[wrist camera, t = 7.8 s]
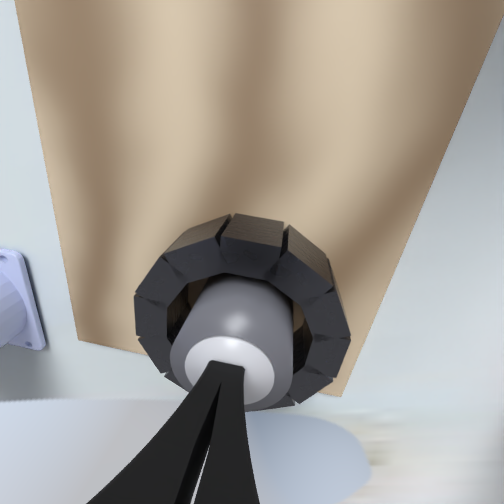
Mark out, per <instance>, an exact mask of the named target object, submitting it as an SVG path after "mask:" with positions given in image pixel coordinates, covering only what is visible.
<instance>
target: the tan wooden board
mask: <svg viewBox="0 0 504 504" xmlns="http://www.w3.org/2000/svg"><path fill="white" fill-rule="evenodd" d="M15 6H16V11H17V16H18V22H19V27H20V32H21V38H22V43H23V48H24V54H25V59H26V64H27V70H28V75H29V80H30V86H31V91H32V96H33V102H34V107H35V112H36V118H37V123H38V128H39V134H40V139H41V144H42V150H43V155H44V160H45V166H46V171H47V176H48V182H49V187H50V192H51V198H52V203H53V208H54V214H55V219H56V224H57V230H58V235H59V240H60V246H61V251H62V256H63V262H64V267H65V272H66V278H67V283H68V288H69V294H70V299H71V304H72V310H73V315H74V320H75V326H76V331H77V336H78V340H80V341H85V342H89V343H94V344H99V345H103V346H108V347H113V348H117V349H122V350H126V351H131V352H136V353H140V354H145V355H148V354H147V353H146V351H145V350H144V348H143V347H142V345H141V344H140V343H139V341H138V338H139V337H140V336H136V329H135V313H134V297H133V296H134V295H135V294H136V293H135V291H136V289H137V288H138V286H139V285H140V284H141V282H142V281H143V279H144V278H145V276H146V275H147V274H148V272H149V271H150V269H151V268H152V267H153V265H154V264H155V262H156V261H157V259H158V258H159V257H160V256H161V255H162V254H163V253H164V252H165V251H166V250H167V249H168V248H169V247H170V246H171V245H172V244H173V243H174V241H175V240H176V239H177V238H178V237H179V236H180V235H181V234H182V233H183V232H184V231H186V230H187V229H188V228H191V227H194V226H197V225H199V224H202V223H205V222H208V221H211V220H213V219H216V218H219V217H222V216H224V215H227V214H231V216H232V218H233V216H234V215H235V213H238V214H244V215H249V216H255V217H261V218H266V219H272V220H277V221H283V222H284V228H283V230H284V229H285V228H286V227H287V226H288V225H289V224H290V225H291V226H292V227H293V228H295V229H296V230H297V231H298V232H300V233H301V234H302V235H303V236H305V237H306V238H307V239H308V240H309V241H311V242H312V243H313V244H314V245H316V246H317V247H318V248H319V249H320V250H322V251H323V252H324V253H325V254H326V257H327V258H329V261H330V264H331V267H332V270H333V273H334V276H335V279H336V282H337V285H338V288H339V292H340V295H341V298H342V302H343V306H344V310H345V313H346V317H347V321H348V325H349V329H350V333H351V336H350V338H351V342H350V345H349V347H348V350H347V352H346V355H345V357H344V360H343V363H342V365H341V368H340V370H339V373H338V375H337V378H333V382H332V383H330V384H329V385H327V386H326V387H324V388H323V389H321V390H320V391H318V392H320V393H324V394H329V395H334V396H338V397H341V396H342V394H343V391H344V389H345V386H346V384H347V382H348V379H349V377H350V375H351V372H352V370H353V368H354V365H355V363H356V361H357V358H358V356H359V354H360V351H361V349H362V347H363V344H364V342H365V339H366V337H367V335H368V332H369V330H370V328H371V325H372V323H373V321H374V318H375V316H376V314H377V311H378V309H379V307H380V304H381V302H382V300H383V297H384V295H385V292H386V290H387V288H388V285H389V283H390V281H391V278H392V276H393V274H394V271H395V269H396V267H397V264H398V262H399V260H400V257H401V255H402V253H403V250H404V248H405V246H406V243H407V241H408V238H409V236H410V234H411V231H412V229H413V227H414V224H415V222H416V220H417V217H418V215H419V213H420V210H421V208H422V206H423V203H424V201H425V199H426V196H427V194H428V191H429V189H430V187H431V184H432V182H433V180H434V177H435V175H436V173H437V170H438V168H439V166H440V163H441V161H442V159H443V156H444V154H445V152H446V149H447V147H448V144H449V142H450V140H451V137H452V135H453V133H454V130H455V128H456V126H457V123H458V121H459V119H460V116H461V114H462V112H463V109H464V107H465V105H466V102H467V100H468V98H469V95H470V93H471V90H472V88H473V86H474V83H475V81H476V79H477V76H478V74H479V72H480V69H481V67H482V65H483V62H484V60H485V58H486V55H487V53H488V51H489V48H490V46H491V43H492V41H493V39H494V36H495V34H496V32H497V29H498V27H499V25H500V22H501V20H502V18H503V15H504V0H15ZM208 279H209V277H207V278H203V279H200V280H197V281H193V282H190V283H189V286H188V303H189V305H190V307H191V308H193V306H194V304H195V302H196V301H197V299H198V297H199V295H200V293H201V291H202V290H203V288H204V286H205V284H206V282H207V280H208ZM304 319H305V316H304V313H303V311H302V308H301V306H300V305H299V304H298V303H296V302H295V301H294V300H293V333H294V332H295V331H296V330H297V329H299V328H300V327H301V326H302V325H303V322H304Z"/></svg>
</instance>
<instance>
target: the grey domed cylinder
mask: <svg viewBox="0 0 504 504" xmlns="http://www.w3.org/2000/svg"><path fill="white" fill-rule="evenodd" d="M211 360H215V361H219V362H224V363H229V364H233V365H238V366H243V367H244V368H245V374H244V410H245V412H249V411H257V410H261V409H264V408H267V407H269V406H272V405H274V404H275V403H277V402H278V401H280V400H281V399H282V398H283V397H284V396H285V395H286V393H287V392H288V390H289V388H290V386H291V383H292V377H293V300H292V299H291V298H290V297H288V296H287V295H286V294H284V293H283V292H282V291H280V290H279V289H278V288H276V287H275V286H274V285H272V284H271V283H270V282H269V281H267V280H262V279H256V278H251V277H246V276H241V275H236V274H231V273H225V272H224V273H220V274H217V275H213V276H210V277H209V279H208V280H207V282H206V284H205V286H204V288H203V290H202V291H201V293H200V295H199V297H198V299H197V301H196V302H195V304H194V306H193V308H192V310H191V312H190V313H189V315H188V317H187V319H186V321H185V323H184V324H183V326H182V328H181V330H180V332H179V334H178V335H177V337H176V339H175V341H174V343H173V345H172V348H171V352H170V363H171V368H172V371H173V373H174V375H175V377H176V379H177V380H178V382H179V383H180V384H181V385H182V387H183V388H184V389H185V390H186V391H188V392H190V391H191V390H192V388H193V387H194V385H195V384H196V382H197V381H198V379H199V378H200V376H201V375H202V373H203V371H204V370H205V368H206V366H207V364H208V362H209V361H211Z"/></svg>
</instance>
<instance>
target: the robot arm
mask: <svg viewBox="0 0 504 504" xmlns="http://www.w3.org/2000/svg"><path fill="white" fill-rule="evenodd" d="M5 344H11V345H15V346H20V347H24V348H29V349H33V350H42V349H43V348H44V347H45V346H46V343H45V339H44V335H43V331H42V327H41V323H40V319H39V316H38V312H37V308H36V304H35V300H34V296H33V292H32V288H31V285H30V281H29V277H28V273H27V269H26V265H25V261H24V258H23V256H22V255H21V254H20V253H18V252H16V251H12V250H7V249H2V248H0V348H1V347H2V346H4V345H5ZM244 374H245V368H244V367H243V366H238V365H233V364H229V363H224V362H219V361H215V360H211V361H209V362H208V364H207V366H206V368H205V370H204V371H203V373H202V375H201V376H200V378H199V379H198V381H197V382H196V384H195V385H194V387H193V388H192V390H191V391H190V392H189V394H188V395H187V396H186V398H185V399H184V400H183V402H182V403H181V405H180V406H179V407H178V408H177V410H176V411H175V412H174V414H173V415H172V416H171V417H170V418H169V419H168V421H167V422H166V423H165V424H164V425H163V427H162V428H161V429H160V430H159V431H158V433H157V434H156V435H155V436H154V437H153V438H152V439H151V440H150V442H149V443H148V444H147V445H146V446H145V447H144V448H143V449H142V450H141V451H140V452H139V453H138V454H137V456H136V457H135V458H134V459H133V460H132V461H131V462H130V463H129V464H128V465H127V466H126V467H125V468H124V469H123V470H122V471H121V472H120V473H119V474H118V475H117V476H116V477H115V478H114V479H113V480H112V481H111V482H110V483H108V484H107V485H106V486H105V487H104V488H103V489H102V490H101V491H100V492H99V493H98V494H97V495H96V496H94V497H93V498H92V499H91V500H90V501H89V502H88V503H87V504H190V503H191V499H192V496H193V493H194V490H195V487H196V484H197V481H198V478H199V475H200V472H201V469H202V466H203V463H204V460H205V457H206V454H207V451H208V448H209V452H208V455H207V459H206V462H205V466H204V469H203V473H202V476H201V480H200V484H199V487H198V491H197V494H196V498H195V501H194V504H260V503H259V498H258V494H257V489H256V484H255V480H254V474H253V469H252V464H251V458H250V451H249V445H248V438H247V430H246V420H245V410H244ZM209 445H210V447H209Z"/></svg>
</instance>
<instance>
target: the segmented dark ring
mask: <svg viewBox="0 0 504 504" xmlns="http://www.w3.org/2000/svg"><path fill="white" fill-rule="evenodd" d="M283 228H284V222H283V221H277V220H272V219H266V218H261V217H255V216H249V215H244V214H238V213H235V215H234V216H233V218H232V216H231V214H227V215H224V216H222V217H219V218H216V219H213V220H211V221H208V222H205V223H202V224H199V225H197V226H194V227H191V228H188V229H187V230H186V231H184V232H183V233H182V234H181V235H180V236H179V237H178V238H177V239H176V240H175V241H174V243H173V244H172V245H171V246H170V247H169V248H168V249H167V250H166V251H165V252H164V253H163V254H162V255H161V256H160V257H159V258H158V259H157V261H156V262H155V264H154V265H153V267H152V268H151V269H150V271H149V272H148V274H147V275H146V276H145V278H144V279H143V281H142V282H141V284H140V285H139V286H138V288H137V289H136V291H135V293H136V294H135V295H134V296H133V297H134V313H135V329H136V336H140V337H139V338H138V341H139V343H140V344H141V345H142V347H143V348H144V350H145V351H146V353H147V354H148V356H149V357H150V358H151V360H152V361H153V363H154V364H155V366H156V367H157V369H158V370H159V372H160V373H165V372H166V374H165V376H164V377H166V378H167V379H169V380H170V381H172V382H174V383H175V384H177V385H178V386H180V387H181V388H183V387H182V385H181V384H180V383H179V382H178V380H177V379H176V377H175V375H174V373H173V371H172V368H171V363H170V352H171V348H172V345H173V343H174V341H175V339H176V337H177V335H178V334H179V332H180V330H181V328H182V326H183V324H184V323H185V321H186V319H187V317H188V315H189V313H190V312H191V310H192V308H191V307H190V305H189V303H188V286H189V283H190V282H193V281H197V280H200V279H203V278H207V277H210V276H213V275H217V274H220V273H224V272H225V273H231V274H236V275H241V276H246V277H251V278H256V279H262V280H267V281H269V282H270V283H271V284H272V285H274V286H275V287H276V288H278V289H279V290H280V291H282V292H283V293H284V294H286V295H287V296H288V297H290V298H291V299H292V300H294V301H295V302H296V303H298V304H299V305H300V306H301V308H302V311H303V313H304V316H305V319H304V322H303V325H302V326H301V327H300V328H299V329H297V330H296V331H295V332H294V333H293V377H292V383H291V386H290V388H289V390H288V392H287V393H286V395H285V396H284V397H283V398H282V399H281V400H280V401H278V402H277V403H275V404H274V405H272V406H269V407H267V408H264V409H261V410H266V409H273V408H280V407H288V406H295V401H296V402H297V403H299V404H300V403H302V402H303V401H305V400H306V399H308V398H309V397H311V396H312V395H314V394H315V393H317V392H318V391H320V390H321V389H323V388H324V387H326V386H327V385H329V384H330V383H332V382H333V378H337V375H338V373H339V370H340V368H341V365H342V363H343V360H344V357H345V355H346V352H347V350H348V347H349V345H350V342H351V338H350V336H351V333H350V329H349V325H348V321H347V317H346V313H345V310H344V306H343V302H342V298H341V295H340V292H339V288H338V285H337V282H336V279H335V276H334V273H333V270H332V267H331V264H330V261H329V258H327V257H326V254H325V253H324V252H323V251H322V250H320V249H319V248H318V247H317V246H316V245H314V244H313V243H312V242H311V241H309V240H308V239H307V238H306V237H305V236H303V235H302V234H301V233H300V232H298V231H297V230H296V229H295V228H293V227H292V226H291V225H290V224H289V225H288V226H287V227H286V228H285V229H284V230H283ZM183 389H184V388H183ZM257 411H258V410H257Z"/></svg>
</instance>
